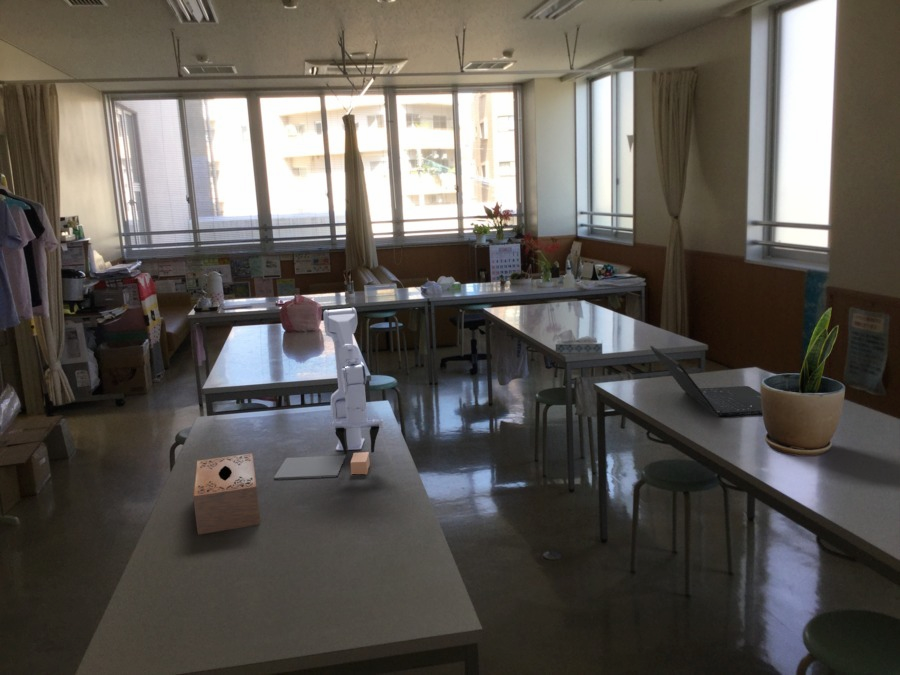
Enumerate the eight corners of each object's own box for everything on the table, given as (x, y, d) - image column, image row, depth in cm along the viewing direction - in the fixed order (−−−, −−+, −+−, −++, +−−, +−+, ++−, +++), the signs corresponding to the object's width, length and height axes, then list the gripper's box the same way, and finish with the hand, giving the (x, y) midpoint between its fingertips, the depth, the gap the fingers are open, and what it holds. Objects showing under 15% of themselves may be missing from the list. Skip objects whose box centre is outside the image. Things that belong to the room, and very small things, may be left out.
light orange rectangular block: (354, 465, 215) (353, 452, 215) (369, 465, 215) (368, 452, 214) (351, 475, 207) (350, 462, 207) (367, 475, 207) (366, 461, 207)
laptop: (790, 414, 243) (792, 357, 239) (677, 420, 242) (678, 363, 239) (748, 389, 276) (749, 339, 272) (648, 394, 275) (648, 344, 272)
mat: (286, 459, 222) (286, 457, 222) (345, 457, 222) (345, 455, 222) (273, 479, 207) (273, 477, 207) (337, 476, 206) (337, 474, 206)
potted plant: (833, 465, 197) (841, 319, 189) (750, 452, 210) (754, 314, 202) (847, 443, 213) (855, 307, 206) (769, 431, 226) (773, 303, 219)
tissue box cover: (260, 525, 178) (256, 486, 176) (198, 535, 174) (193, 496, 172) (255, 487, 202) (252, 453, 200) (201, 495, 198) (197, 460, 196)
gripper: (328, 411, 204) (332, 458, 206) (380, 409, 204) (383, 455, 206) (332, 404, 211) (336, 449, 213) (382, 402, 211) (385, 447, 213)
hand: (359, 452), depth 210 cm, fingers open, 7 cm apart
